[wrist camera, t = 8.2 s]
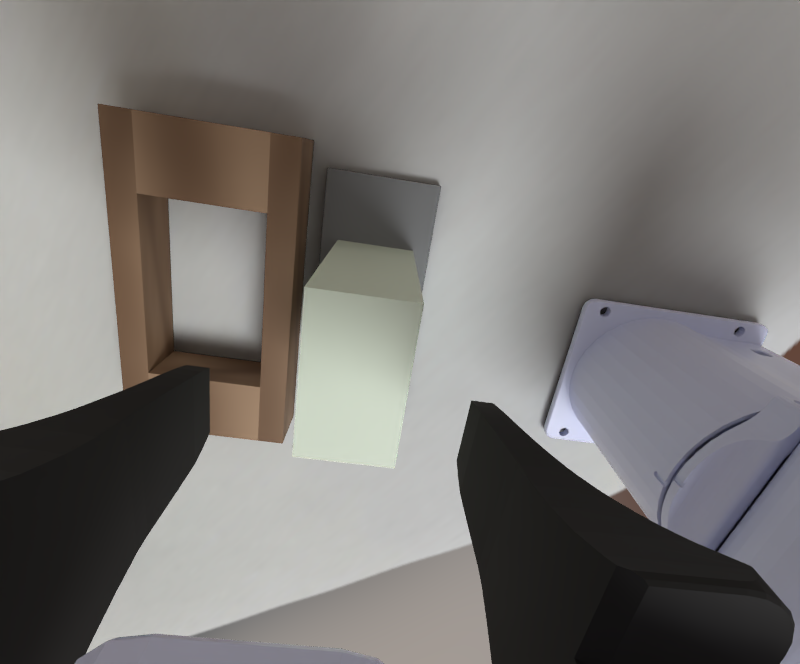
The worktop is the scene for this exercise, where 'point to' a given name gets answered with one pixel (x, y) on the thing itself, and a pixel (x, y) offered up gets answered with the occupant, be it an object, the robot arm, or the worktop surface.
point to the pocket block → (150, 252)
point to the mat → (379, 213)
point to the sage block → (357, 354)
